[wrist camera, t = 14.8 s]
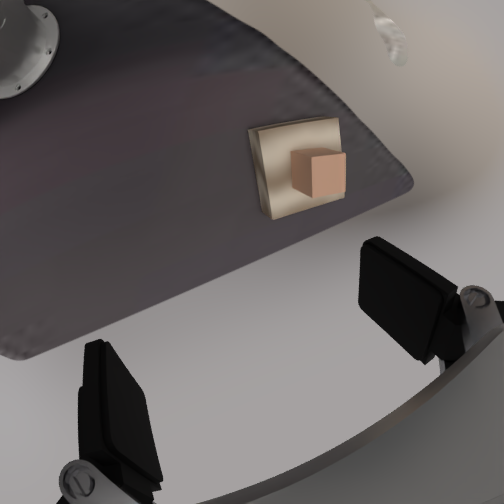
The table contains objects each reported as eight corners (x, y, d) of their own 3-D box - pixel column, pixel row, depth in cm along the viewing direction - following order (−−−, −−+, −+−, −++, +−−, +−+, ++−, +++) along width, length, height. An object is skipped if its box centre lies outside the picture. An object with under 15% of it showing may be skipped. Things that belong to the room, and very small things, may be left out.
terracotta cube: (290, 151, 37) (311, 157, 32) (322, 147, 38) (345, 153, 34) (292, 187, 39) (312, 198, 35) (323, 182, 40) (345, 191, 36)
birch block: (246, 129, 37) (258, 131, 34) (321, 116, 40) (338, 117, 37) (260, 210, 43) (272, 219, 40) (329, 190, 46) (344, 197, 43)
